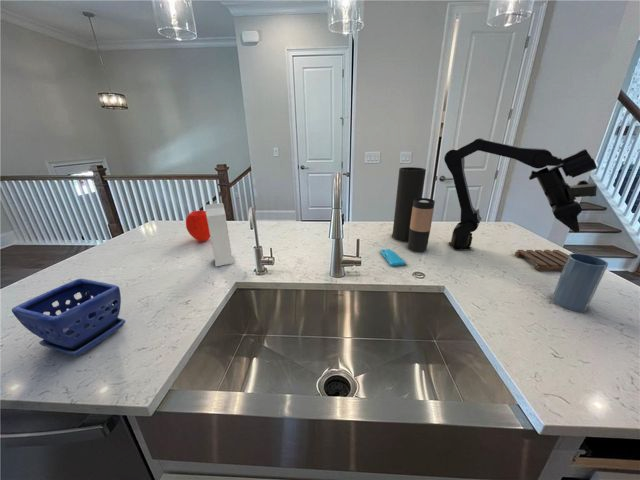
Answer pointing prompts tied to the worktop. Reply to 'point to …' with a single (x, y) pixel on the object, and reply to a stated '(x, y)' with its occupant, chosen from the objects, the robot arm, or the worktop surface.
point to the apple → (198, 225)
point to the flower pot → (73, 315)
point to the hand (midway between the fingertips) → (574, 227)
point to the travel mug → (420, 224)
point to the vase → (407, 199)
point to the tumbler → (579, 281)
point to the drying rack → (545, 259)
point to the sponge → (392, 257)
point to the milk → (219, 233)
